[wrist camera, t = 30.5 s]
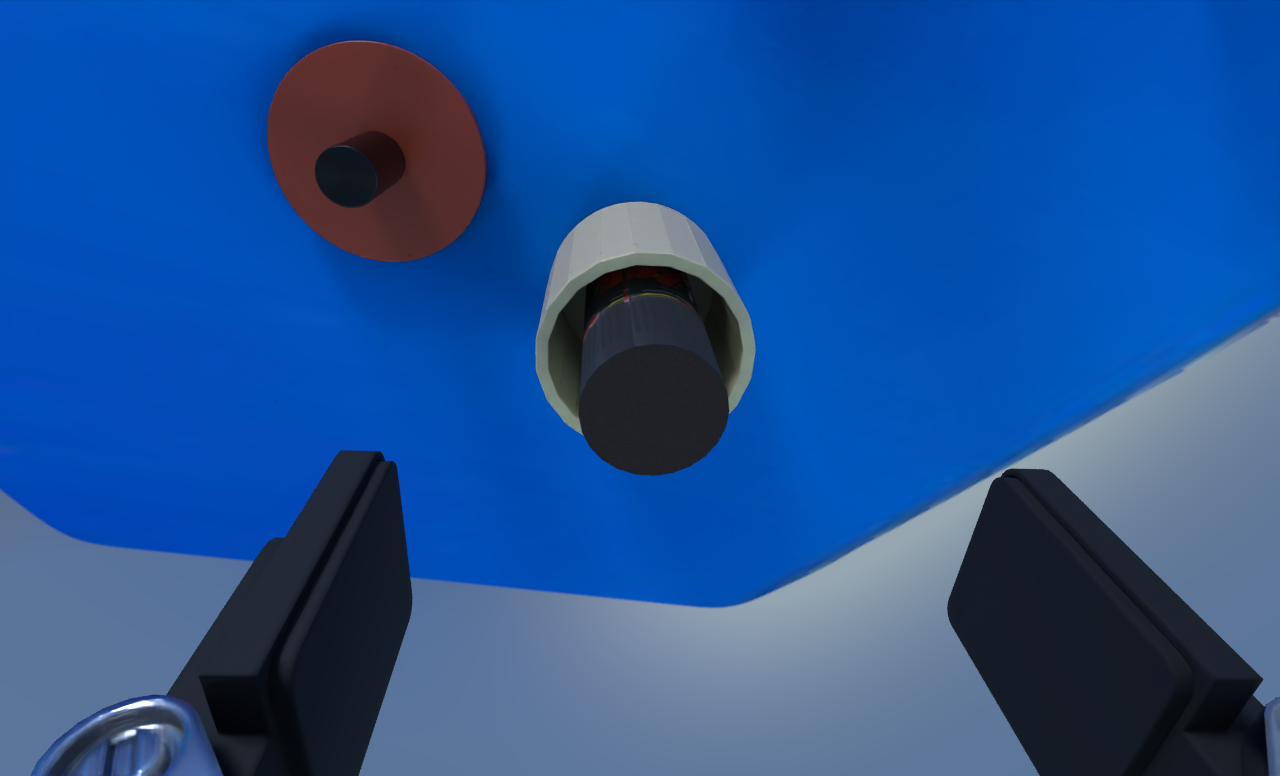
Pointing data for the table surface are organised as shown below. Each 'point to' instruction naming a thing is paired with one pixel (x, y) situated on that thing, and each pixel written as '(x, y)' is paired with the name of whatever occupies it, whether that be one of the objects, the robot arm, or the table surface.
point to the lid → (376, 150)
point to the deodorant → (648, 373)
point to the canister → (620, 244)
